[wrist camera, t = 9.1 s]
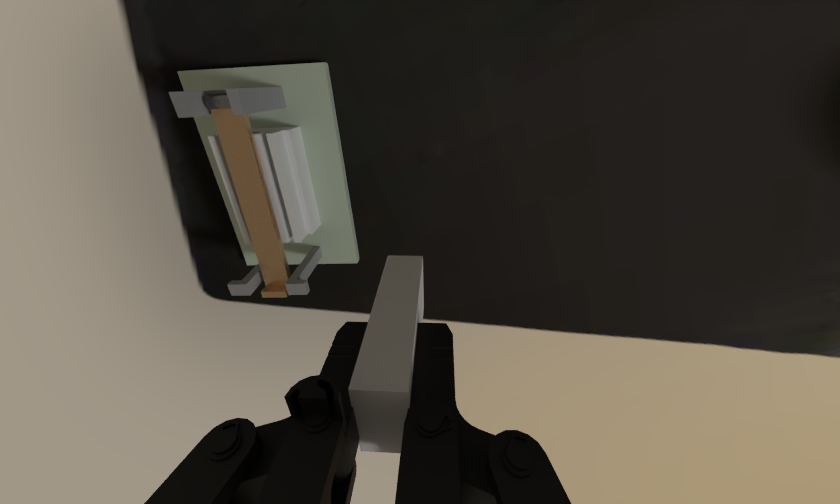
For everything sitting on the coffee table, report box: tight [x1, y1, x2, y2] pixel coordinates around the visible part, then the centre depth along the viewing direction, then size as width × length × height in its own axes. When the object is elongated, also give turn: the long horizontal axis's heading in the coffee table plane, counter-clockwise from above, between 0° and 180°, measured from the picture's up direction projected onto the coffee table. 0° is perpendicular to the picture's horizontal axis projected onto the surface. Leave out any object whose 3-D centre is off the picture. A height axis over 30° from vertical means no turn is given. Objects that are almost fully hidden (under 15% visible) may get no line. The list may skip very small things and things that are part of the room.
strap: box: [204, 93, 291, 298], centre depth 33 cm, size 22×3×2 cm, turn 3°
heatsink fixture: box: [169, 62, 359, 295], centre depth 35 cm, size 24×16×10 cm, turn 3°
